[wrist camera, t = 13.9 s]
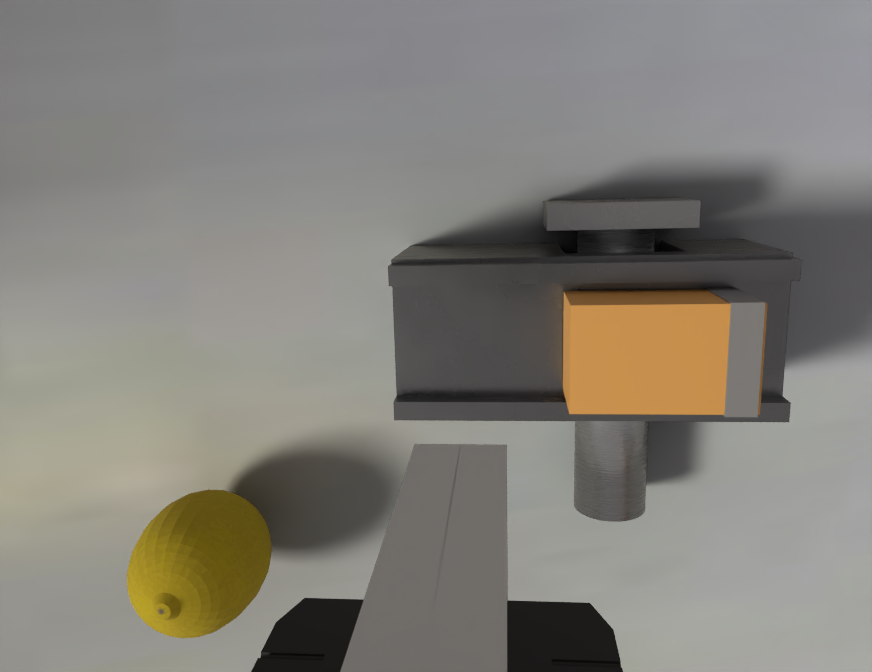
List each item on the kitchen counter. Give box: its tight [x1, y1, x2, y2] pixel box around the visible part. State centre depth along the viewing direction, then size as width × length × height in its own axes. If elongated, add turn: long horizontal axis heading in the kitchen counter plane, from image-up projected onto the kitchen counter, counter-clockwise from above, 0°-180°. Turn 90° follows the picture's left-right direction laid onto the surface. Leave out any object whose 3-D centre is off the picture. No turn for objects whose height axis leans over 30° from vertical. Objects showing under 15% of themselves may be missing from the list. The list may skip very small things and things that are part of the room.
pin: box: [543, 198, 701, 521], centre depth 31 cm, size 13×6×3 cm, turn 2°
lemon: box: [127, 490, 272, 638], centre depth 32 cm, size 6×6×8 cm
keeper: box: [563, 288, 768, 417], centre depth 25 cm, size 4×6×3 cm, turn 92°
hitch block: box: [388, 239, 802, 422], centre depth 29 cm, size 6×14×6 cm, turn 92°
